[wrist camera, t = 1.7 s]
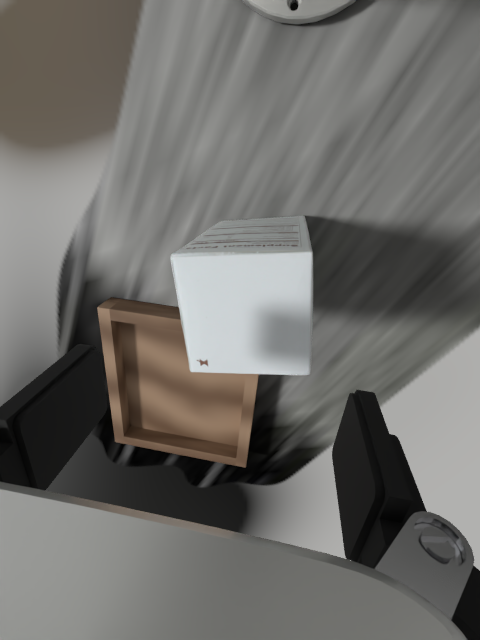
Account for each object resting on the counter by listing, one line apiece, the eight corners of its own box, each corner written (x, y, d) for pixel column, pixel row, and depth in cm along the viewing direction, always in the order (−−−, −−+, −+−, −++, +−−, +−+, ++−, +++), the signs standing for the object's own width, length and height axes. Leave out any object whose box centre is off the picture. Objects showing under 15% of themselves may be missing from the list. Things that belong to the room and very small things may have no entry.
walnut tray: (111, 297, 32) (97, 307, 30) (266, 320, 30) (264, 332, 28) (125, 426, 40) (115, 441, 38) (248, 450, 39) (245, 467, 36)
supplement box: (305, 297, 29) (311, 381, 18) (226, 297, 30) (185, 376, 19) (307, 213, 26) (317, 250, 14) (219, 217, 27) (164, 254, 16)
